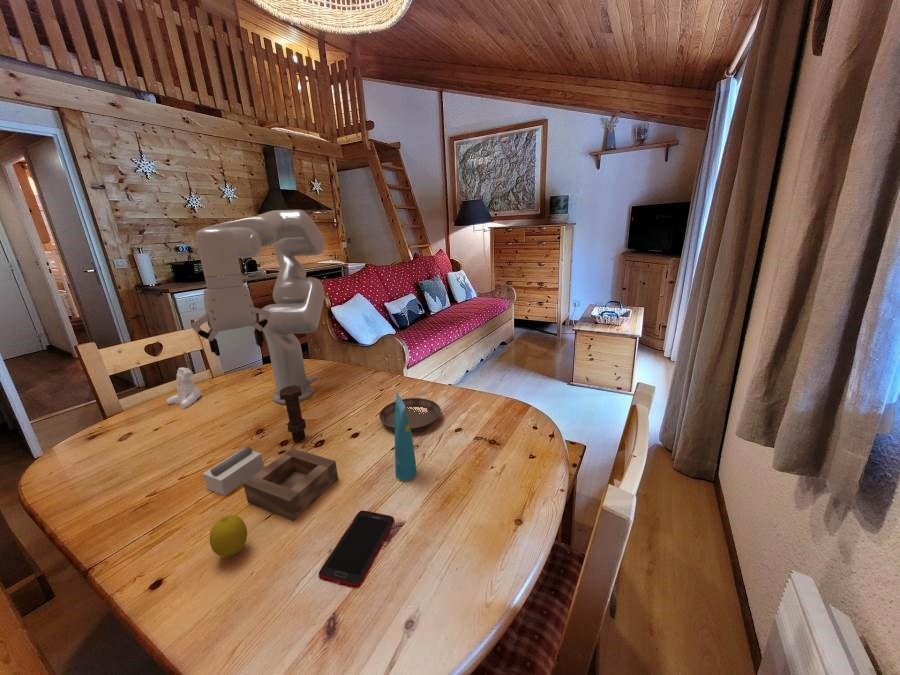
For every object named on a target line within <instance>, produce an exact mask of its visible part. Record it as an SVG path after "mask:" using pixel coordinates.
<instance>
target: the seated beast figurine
mask: <svg viewBox="0 0 900 675" xmlns="http://www.w3.org/2000/svg"><path fill="white" fill-rule="evenodd" d="M176 372H177V373H176V381H177V382H176V384H177V385H176V386H175V387H176V390H177V394H175V395H172V396H171V395H170V397H168V398H167V399H166V403H167V405H169V404H171V405H174V404H173V403H179V404H178V405H179V407H180V409H182V408H185V409H187V408H189V407H191V406H192V405H193V404H194V403H195V402H196V401H198V400H199V399H200V397H201V393H202V391H201V389H200V388H199V387H198V386H196V384H195V383H194V382H193V380H191V377H192V376H193V374H194V371H192V370H191V369H189V368H188V367H184V366H183V367H179V368H178V369H177V370H176ZM198 398H199V399H198ZM197 399H198V400H197ZM192 403H193V404H192ZM191 404H192V405H191ZM169 406H170V405H169ZM188 406H189V407H188ZM186 407H187V408H186Z"/></svg>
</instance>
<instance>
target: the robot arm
mask: <svg viewBox="0 0 900 675" xmlns="http://www.w3.org/2000/svg"><path fill="white" fill-rule="evenodd" d="M195 242H196V243H195V244H196V247H197V250H198V254H199V258H200V263H201V267H202V271H203V275H204V280H205V284H206V288H207V289H203V303H204V312H205V314H204V315H203V316H201V317H200V318H198V319H196V320H195V321H193V322H191V323H190V327H191V328H192V329H193V331H194V332H195V333H197V334H198V335H199V336H200V337H202V338H204V339H206V340H208V343H209V347H210V351H211V354H212V353H214V355H215V356H216V357H218V356H221V353H220V352H221V351H220V347H219V344H218V340H217V339H216V336H217V335H218V333H219V332H224V331H231V330H236V329H241V328H246V327H251V326H252V327H254V330H253V334H254V338H255V343H256V345H257V346H258V347H263V343H264V342H265V340H266V343H267V347H268V348H267V349H268V352H269V359H270V362H271V368H272V372H273V377H274V382H275V387H276V392H275V393H273V395H272V399H273V401H274V402H275V403H277V404H280V405H286V403H285V400H281V399H280V390H281V389H283V388H285V387H288V386H294V385H296V386H300V387H301V392H302V395H301V396H299V403H301V402H302V401H305V400H306V399H307V400H308V399H309V398H310V397H311V396H312V395H313V394H314V388H313V386H311V385H312V383H314V382H316V381H317V380H318V376H317V375H316V374H314V375H312V376H310V377H309V376H308V375H306V368H305V362H304V357H303V350H302V345H301V342H300V341H299V339H298V337H297V336H296V335H295V334H311V333H314V332H316V330H317V329H318V327H319V325H320V321H321V320H320V319H321V315H322V311H323V306H324V300H325V286H324V285H323V283H322V281H321V279H318V278H317V277H312V276H310V277H307V270H306V268H305V266H303V264H302V263H301V262H300V261H299V260H298V259H297V258H296V257H297V256H298V257H301V256H302V257H304V256H305V257H306V256H319V255H322V253H323V252H324V251H325V249H326V248H325V247H326V242H325V238H324V236H323V233H322V232H321V231H320V229H319V227H318V226H317V224H316V222H315V221H314V220H313V219H312V218H311V217H310V215H309V214H308V213H307V212H306V211H304V210H302V209H278V210H277V209H276V210H270V211H267V212H263V213H261V214H257V215H255V216H251V217H246V218H241V219H236V220H232V221H225V222H221V223H220V222H219V223H217V224H216V223H215V224H212V225H210V226H206V227H204V228H201V229H198V230H197V231H196V232H195ZM271 245H272V247H273V250H274V254H275V257H276V259H277V262H278V266H279V270H278V274H277V277H276V280H275V283H274V287H273V291H272V299H273V302H274V303H271V304H268V305H265V306H264V307H263V308H258V307H255V306H254V302H253V300H252V297H251V294H250V291H249V288H248V287H247V285H245V282H247V281H250V279H249V278H250V277H249V275H248V274H246V275H245V274H243V273H242V270H241V266H240V262H239V259H249V258H253V257H256V256H257V255H259V253H260V251H261V250H262V248H265V247H268V246H271ZM257 314H258V317H257ZM257 318H258V320H259V322H257ZM205 323H207V325H208V326H209V327H208V328H209V330H208V331H205V330H203V329H202V328H201V326H203V325H204V324H205ZM264 337H265V338H264Z"/></svg>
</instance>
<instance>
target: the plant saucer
mask: <svg viewBox="0 0 900 675" xmlns="http://www.w3.org/2000/svg"><path fill="white" fill-rule="evenodd" d="M401 399H402V398H401ZM402 401H403V403H404V405H405V407H406V408H405V411H406V414H407V417H408V420H409V424H410V428H411V434H412V433H419V432H421V431H424V430H427V429H428V428H430V427H431V426H432V425H434V423H435V422H437V420H438V419H439V417H440V416H441V412H442V410H441V407H440V405H439V404H438V403H436V401H433V400H430V399H427V398H423V397H409V398H403V399H402ZM395 406H396V400H395V401H393V402H391V403H389V404H387V405H385V406H384V407H383V408H382V409H381V410H380V412H379V415H378V416H379V420H380V421H381V423H382V424H383V425H384V426H385V427H386V428H387V429H390V430H391V431H393V432H395ZM407 407H408V408H409V407H412V408H413V407H419V408H420V407H423V408H427V411H428V412H426V411H425V412H426V413H425V412H422V410H421V409H420V410H421V412H422V413H421V412H420V411H419V410H417V409H416V410H417V411H416V410H415V409H414V408H413V409H414V410H413V409H410V408H409V409H408V408H407ZM409 410H410V411H409ZM414 411H415V412H414ZM418 411H419V412H418ZM419 413H420V414H419ZM423 413H424V414H423Z"/></svg>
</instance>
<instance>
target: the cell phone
mask: <svg viewBox="0 0 900 675" xmlns="http://www.w3.org/2000/svg"><path fill="white" fill-rule="evenodd" d="M394 522H395V518H394V517H393V516H392V515H389V514H384V513H379V512H374V511H370V510H360V511H358V512H357V514H355V517H354V518H353V520H352V521H351V523H350V524H349V526H348V527H347V528H346V530H345V531H344V533H343V535H342V536H341V537H340V539H339V541H338V542H337V544H336V545H335V546H334V548H333V550H331V552H330V554H329V556H328V557H327V558H326V560H325V561H324V563H323V564H322V566H321V568H320V570H319V572H318V578H319V579H320V580H322V581H324V582H325V581H327V582H329V583H335V582H336V583H338V584H339V585H341V586H345V587H348V588H352V589H357V588H359V587H360V586H362V583H363V582H364V579H365V578H366V576H367V575H368V572H369V571H370V568H371V566H372V565H373V563H374V561H375V559H376V558H377V556H378V554H379V551H380V549H381V548H382V544H383V542H384V541H385V540H386V538H387V537H388V534H389V533H390V531H391V528H392V527H393V524H394Z"/></svg>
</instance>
